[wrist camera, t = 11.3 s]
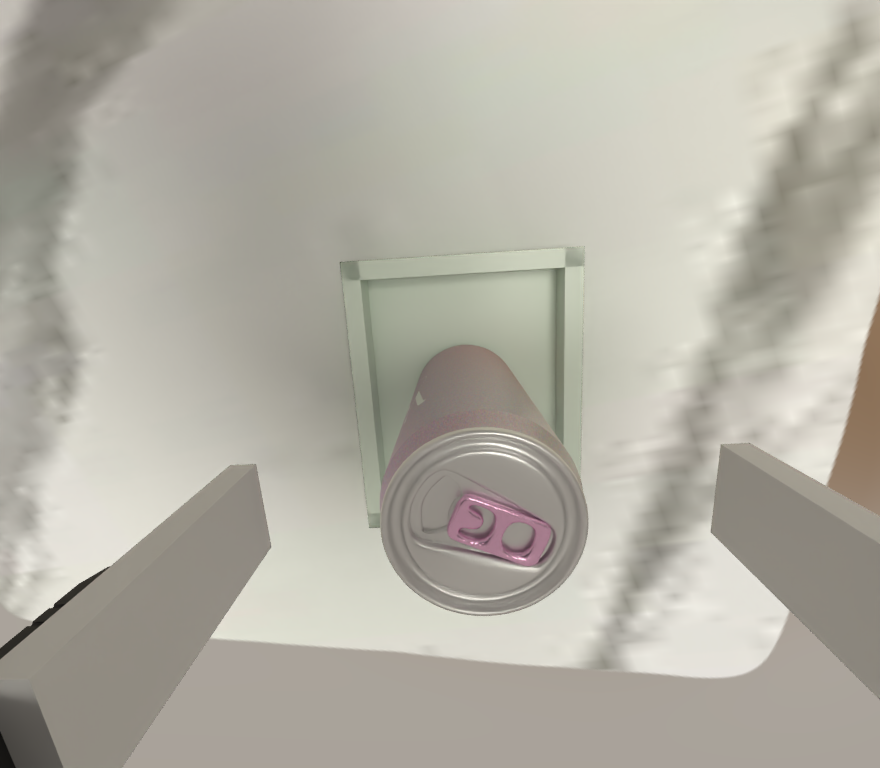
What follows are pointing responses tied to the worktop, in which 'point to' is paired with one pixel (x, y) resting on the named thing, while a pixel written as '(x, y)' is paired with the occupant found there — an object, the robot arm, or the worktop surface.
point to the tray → (462, 336)
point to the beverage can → (480, 491)
